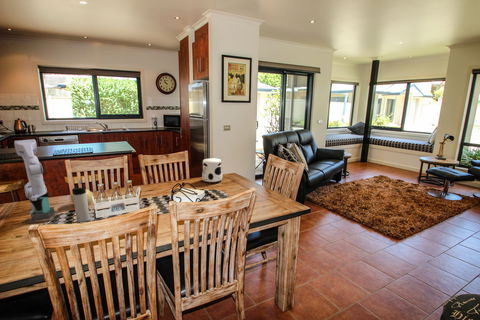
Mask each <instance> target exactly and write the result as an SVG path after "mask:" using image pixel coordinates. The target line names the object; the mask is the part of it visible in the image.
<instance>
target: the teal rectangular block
mask: <svg viewBox="0 0 480 320" xmlns="http://www.w3.org/2000/svg"><path fill="white" fill-rule="evenodd" d="M39 198H40V199H42V198H43V200H42V210H41V211H37V210H36V208H35V206H34V205H33V206H34V211H35V214H36V213H46V212H48V211H49V210H50V207H51V205H50V201H49V196H48V197H39Z"/></svg>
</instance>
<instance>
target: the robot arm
mask: <svg viewBox="0 0 480 320" xmlns="http://www.w3.org/2000/svg"><path fill="white" fill-rule="evenodd" d="M13 142H14V149H15V151H16V154H17V156H19V157H22V159H23V162H24V166H25V171H26V175H27V179H28V182H27V183H26V184H25V185H24V187H23V188H24V193H25V197H26V198H27V199H29V202H30V209H31V210H30V211H29V212H28V214H30V215H31V214H32V213H33V212H34V206H35V208H36V210H37V211H41V210H42V200H43V198H42V199H40V198H39V197H48V198H49V195H50V192H48V190H47V189H48V188H47V186H46V185H45V184H46V183H45V181H44V177H43V174H44V169H43V165H42V163H41V162H40V161H39V158H38V156H36V154H37V149H38V145H37V140H35V139H34V138H32V139H23V140H14V141H13ZM33 205H34V206H33Z"/></svg>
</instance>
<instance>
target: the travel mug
mask: <svg viewBox="0 0 480 320" xmlns="http://www.w3.org/2000/svg"><path fill="white" fill-rule="evenodd" d="M86 189H87V188H86V187H85V186H81V187H73V188H72V189H71V190H72V191H71V192H72V194H73V199H74V204H73V205H74V212H75V219H76V223H77V224H81V223H80V222H86V223H88V222H90V221H91V218H90V211H89V204H88V202H87V195H86Z"/></svg>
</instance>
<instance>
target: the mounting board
mask: <svg viewBox="0 0 480 320" xmlns="http://www.w3.org/2000/svg"><path fill="white" fill-rule="evenodd" d="M55 211H56V213H55V214H54V215H53V216H52V217H51V218H50V219H42V220H33V221H29V220H28V221H26V225H34V224H42V223H48V222H47V221H51V220H52V221H53V220H54V219H55V217H56V216H57V215H58V214H59V210H55ZM52 221H51V222H52Z"/></svg>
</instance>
